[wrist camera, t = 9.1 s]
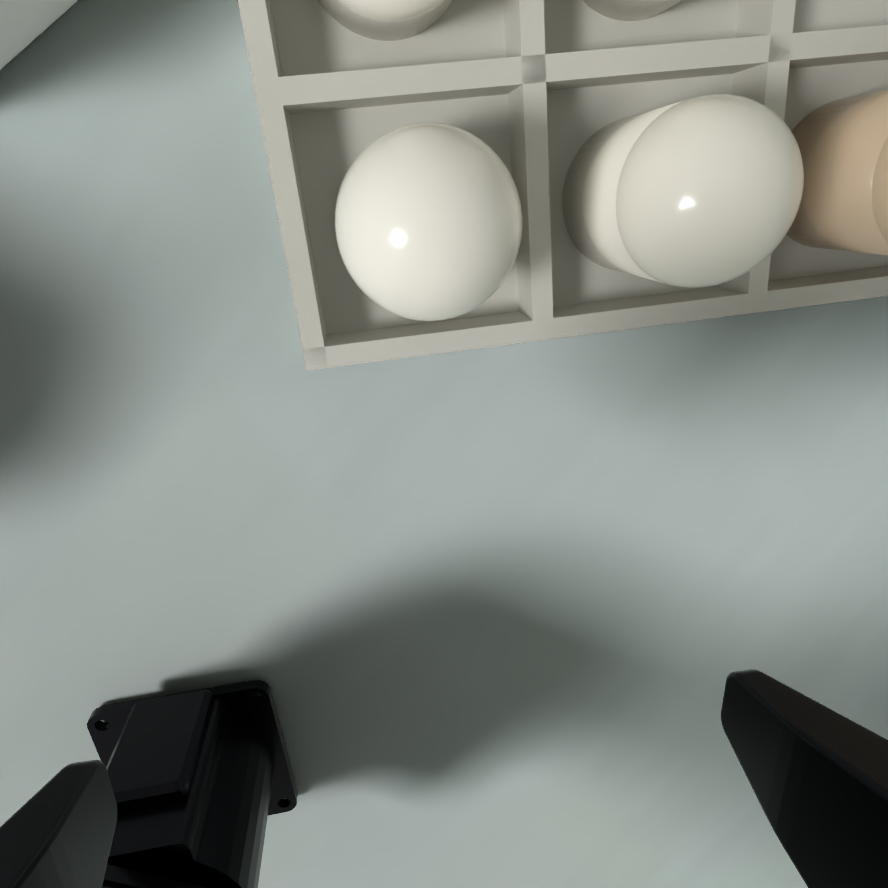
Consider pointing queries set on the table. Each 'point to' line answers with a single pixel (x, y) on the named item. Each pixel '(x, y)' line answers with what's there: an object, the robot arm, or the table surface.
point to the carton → (540, 148)
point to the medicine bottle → (26, 23)
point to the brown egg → (844, 175)
